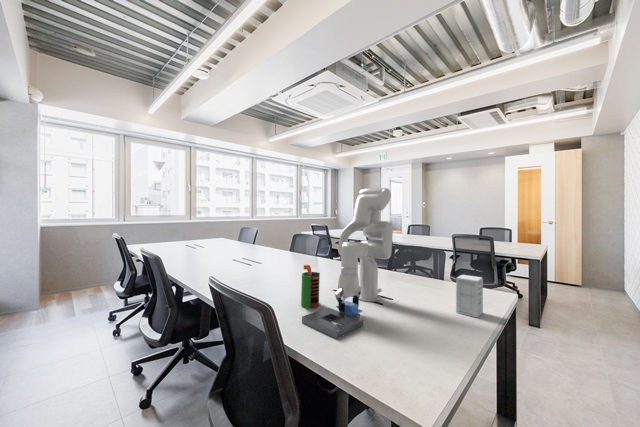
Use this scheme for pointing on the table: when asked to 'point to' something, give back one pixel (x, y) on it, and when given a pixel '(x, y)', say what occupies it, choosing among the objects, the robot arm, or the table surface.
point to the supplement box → (469, 295)
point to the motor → (310, 288)
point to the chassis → (334, 330)
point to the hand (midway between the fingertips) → (348, 308)
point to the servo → (351, 309)
